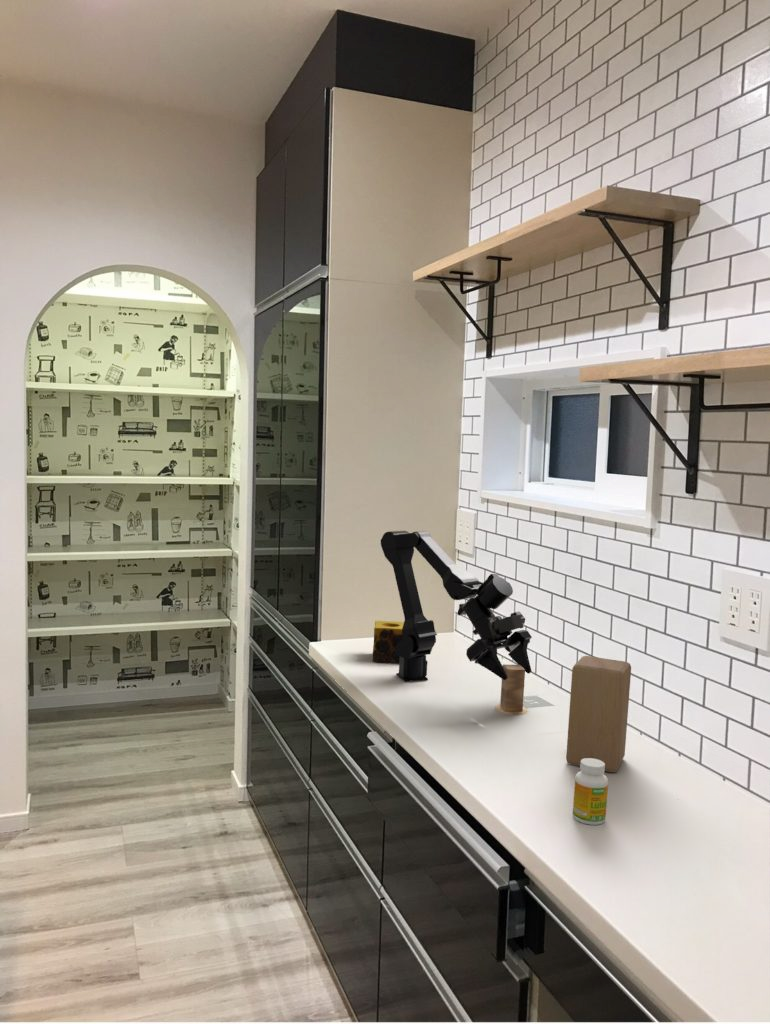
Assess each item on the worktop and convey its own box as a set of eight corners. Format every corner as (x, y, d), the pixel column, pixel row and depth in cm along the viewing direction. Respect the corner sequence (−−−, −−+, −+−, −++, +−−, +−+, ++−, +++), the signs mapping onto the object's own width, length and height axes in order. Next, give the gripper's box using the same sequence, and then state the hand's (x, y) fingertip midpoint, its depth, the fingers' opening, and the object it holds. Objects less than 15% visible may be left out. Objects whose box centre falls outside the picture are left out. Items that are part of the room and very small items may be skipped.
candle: (408, 665, 231) (410, 629, 231) (372, 663, 232) (373, 627, 231) (408, 655, 242) (409, 621, 241) (373, 653, 242) (374, 620, 241)
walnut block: (504, 711, 193) (507, 669, 192) (500, 705, 197) (502, 664, 196) (522, 711, 194) (525, 669, 193) (517, 706, 198) (520, 664, 197)
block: (625, 758, 168) (632, 661, 167) (616, 775, 159) (624, 673, 158) (575, 748, 173) (582, 653, 171) (564, 764, 164) (571, 664, 162)
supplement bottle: (590, 828, 136) (594, 771, 136) (565, 815, 141) (569, 759, 140) (612, 821, 140) (616, 764, 139) (586, 808, 144) (590, 754, 143)
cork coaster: (505, 717, 190) (505, 715, 190) (489, 706, 197) (489, 705, 197) (533, 714, 193) (534, 712, 193) (516, 704, 200) (516, 702, 200)
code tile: (525, 709, 197) (525, 707, 197) (508, 699, 204) (508, 697, 204) (554, 706, 200) (554, 705, 200) (536, 696, 207) (536, 695, 207)
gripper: (479, 604, 190) (515, 663, 183) (527, 597, 203) (563, 651, 196) (451, 632, 196) (485, 689, 189) (499, 622, 209) (533, 676, 202)
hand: (518, 675), depth 194 cm, fingers open, 9 cm apart
